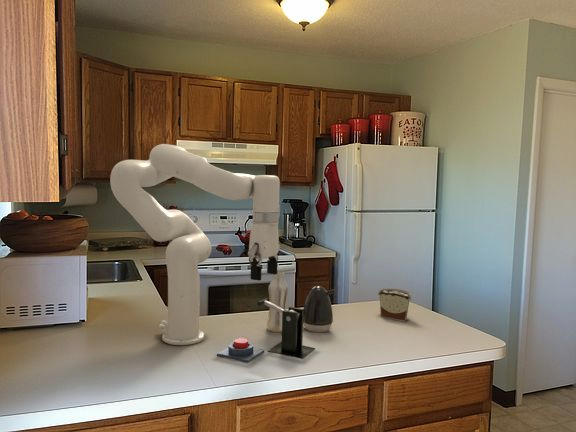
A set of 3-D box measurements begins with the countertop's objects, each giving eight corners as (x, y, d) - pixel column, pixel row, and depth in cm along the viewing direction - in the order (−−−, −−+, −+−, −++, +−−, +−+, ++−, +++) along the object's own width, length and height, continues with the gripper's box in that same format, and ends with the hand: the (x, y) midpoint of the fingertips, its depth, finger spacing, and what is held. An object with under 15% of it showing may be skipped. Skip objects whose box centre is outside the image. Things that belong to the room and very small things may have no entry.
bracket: (267, 354, 136) (268, 310, 135) (281, 345, 144) (282, 303, 143) (302, 362, 131) (304, 316, 130) (315, 352, 140) (316, 309, 138)
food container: (414, 318, 176) (416, 291, 175) (409, 322, 171) (410, 295, 170) (383, 312, 183) (384, 286, 182) (376, 316, 177) (378, 289, 177)
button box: (216, 359, 132) (216, 346, 131) (234, 349, 140) (234, 337, 139) (248, 366, 127) (248, 353, 127) (264, 355, 135) (264, 343, 135)
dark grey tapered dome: (331, 337, 152) (333, 290, 151) (299, 334, 154) (300, 288, 153) (334, 328, 162) (336, 283, 161) (304, 325, 164) (305, 281, 163)
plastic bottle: (276, 327, 160) (278, 269, 159) (291, 333, 155) (293, 272, 154) (262, 331, 156) (264, 271, 154) (276, 337, 151) (278, 274, 149)
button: (231, 347, 132) (231, 341, 132) (238, 343, 136) (238, 337, 136) (243, 350, 131) (243, 344, 131) (250, 345, 134) (251, 339, 134)
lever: (256, 306, 139) (258, 299, 138) (265, 302, 144) (267, 295, 143) (291, 324, 134) (294, 316, 134) (299, 319, 139) (302, 312, 139)
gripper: (268, 215, 147) (267, 270, 148) (238, 219, 131) (237, 280, 133) (290, 217, 144) (288, 273, 145) (262, 221, 128) (260, 284, 130)
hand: (264, 276), depth 139 cm, fingers open, 9 cm apart
